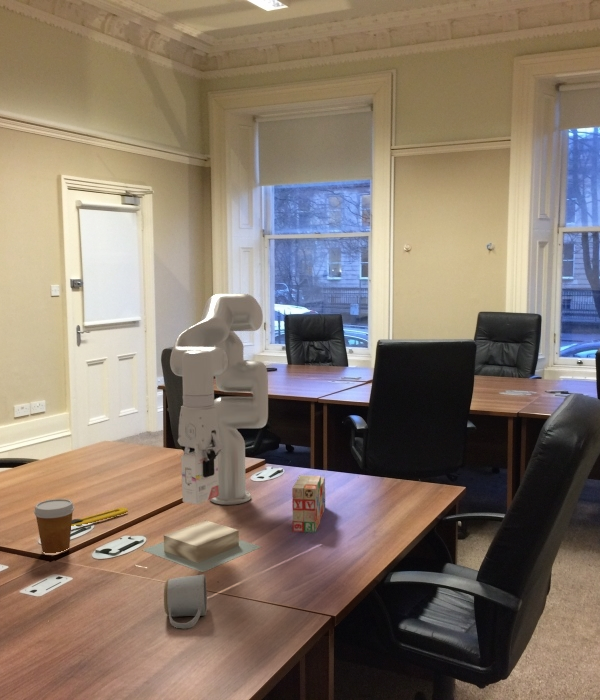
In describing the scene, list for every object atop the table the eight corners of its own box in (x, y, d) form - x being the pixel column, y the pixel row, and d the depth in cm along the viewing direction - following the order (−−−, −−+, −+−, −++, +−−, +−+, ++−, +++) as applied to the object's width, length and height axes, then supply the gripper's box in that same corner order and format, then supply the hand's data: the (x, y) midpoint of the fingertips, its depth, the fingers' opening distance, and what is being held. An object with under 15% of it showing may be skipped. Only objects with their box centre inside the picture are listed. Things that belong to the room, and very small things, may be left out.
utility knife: (47, 529, 192) (47, 522, 192) (118, 509, 209) (118, 503, 209) (60, 535, 188) (60, 528, 188) (132, 514, 204) (131, 507, 204)
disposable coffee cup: (38, 561, 169) (36, 512, 168) (33, 548, 178) (31, 501, 177) (79, 554, 174) (77, 506, 172) (72, 541, 182) (70, 496, 181)
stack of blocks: (304, 507, 209) (304, 466, 208) (325, 507, 208) (325, 466, 207) (292, 532, 188) (291, 486, 187) (315, 533, 187) (315, 487, 186)
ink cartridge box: (203, 493, 179) (202, 436, 178) (219, 496, 177) (218, 438, 175) (181, 502, 172) (179, 442, 171) (196, 505, 169) (195, 445, 168)
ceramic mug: (167, 606, 145) (166, 570, 144) (207, 604, 146) (206, 568, 145) (162, 632, 135) (161, 593, 134) (205, 630, 135) (204, 591, 134)
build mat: (141, 551, 175) (141, 549, 175) (201, 529, 190) (201, 527, 190) (202, 574, 161) (202, 572, 161) (261, 548, 176) (261, 546, 176)
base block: (164, 551, 174) (163, 535, 174) (205, 535, 185) (205, 520, 184) (197, 562, 166) (196, 546, 166) (238, 545, 177) (238, 530, 177)
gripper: (163, 399, 175) (165, 471, 176) (211, 406, 164) (213, 483, 166) (186, 395, 180) (188, 465, 182) (234, 402, 170) (235, 476, 171)
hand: (200, 473), depth 174 cm, fingers closed on ink cartridge box, 5 cm apart
